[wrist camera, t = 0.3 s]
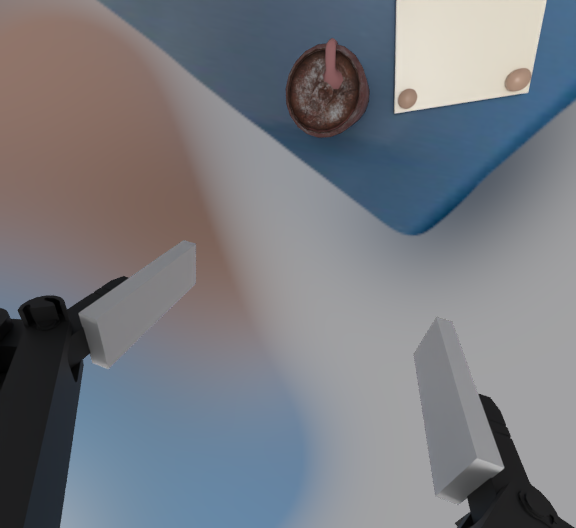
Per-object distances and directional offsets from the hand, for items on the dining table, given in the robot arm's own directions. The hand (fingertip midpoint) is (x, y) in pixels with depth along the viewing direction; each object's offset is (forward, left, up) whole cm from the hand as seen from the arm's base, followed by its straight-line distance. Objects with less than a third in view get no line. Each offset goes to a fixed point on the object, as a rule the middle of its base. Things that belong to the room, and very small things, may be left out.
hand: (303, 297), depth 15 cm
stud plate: (-14, +12, -26) cm, 31 cm away
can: (-10, 0, -26) cm, 28 cm away
